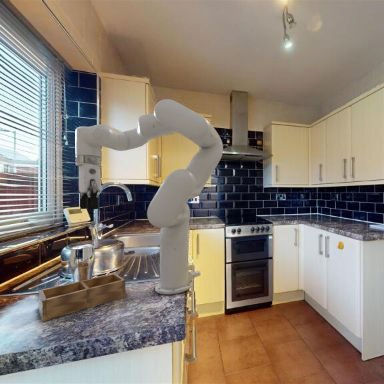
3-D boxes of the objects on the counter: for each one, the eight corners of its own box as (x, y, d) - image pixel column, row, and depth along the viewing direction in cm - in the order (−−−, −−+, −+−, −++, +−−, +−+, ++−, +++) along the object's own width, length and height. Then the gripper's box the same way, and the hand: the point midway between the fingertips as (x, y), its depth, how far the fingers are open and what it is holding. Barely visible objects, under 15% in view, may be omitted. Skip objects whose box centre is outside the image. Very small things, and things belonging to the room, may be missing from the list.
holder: (115, 288, 80) (115, 273, 81) (125, 296, 74) (125, 279, 74) (38, 309, 66) (38, 290, 66) (42, 321, 59) (42, 300, 59)
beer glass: (81, 294, 76) (81, 248, 76) (64, 292, 77) (64, 248, 78) (99, 286, 83) (99, 244, 83) (83, 285, 84) (83, 244, 84)
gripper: (108, 160, 80) (108, 209, 80) (94, 165, 92) (94, 208, 91) (81, 157, 75) (82, 210, 74) (70, 163, 86) (70, 209, 86)
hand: (89, 209), depth 83 cm, fingers open, 9 cm apart
